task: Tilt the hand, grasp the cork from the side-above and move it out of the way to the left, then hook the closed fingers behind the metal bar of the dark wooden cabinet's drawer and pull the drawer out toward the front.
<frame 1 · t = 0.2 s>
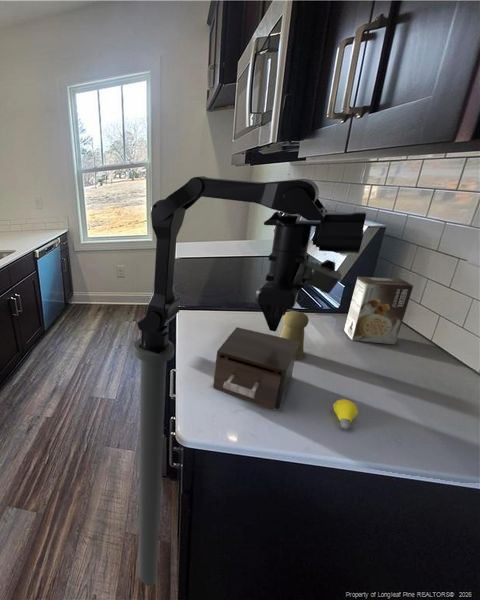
hand: (277, 322, 66), 14 cm above the countertop, tool pointing down, fingers open, 9 cm apart
cabinet: (252, 381, 70), on the countertop
drawer: (249, 374, 66), point 5 cm above the countertop, slide at 0.5 cm
coffee box: (367, 338, 85), on the countertop
cork: (288, 353, 81), on the countertop
light bulb: (343, 421, 58), on the countertop
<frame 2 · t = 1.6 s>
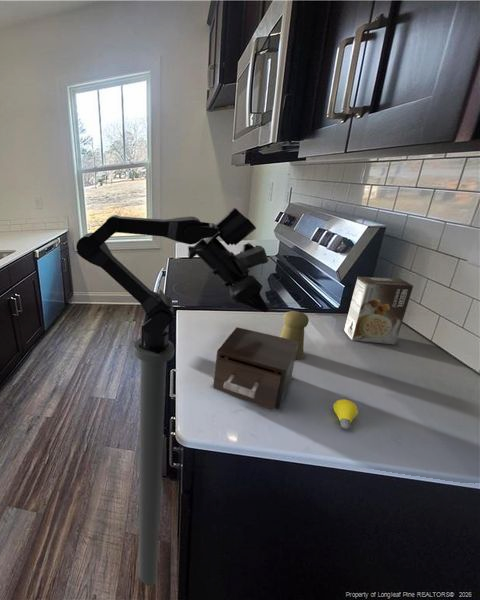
hand: (261, 303, 77), 13 cm above the countertop, tool tilted 45°, fingers open, 9 cm apart
nothing on the countertop moved.
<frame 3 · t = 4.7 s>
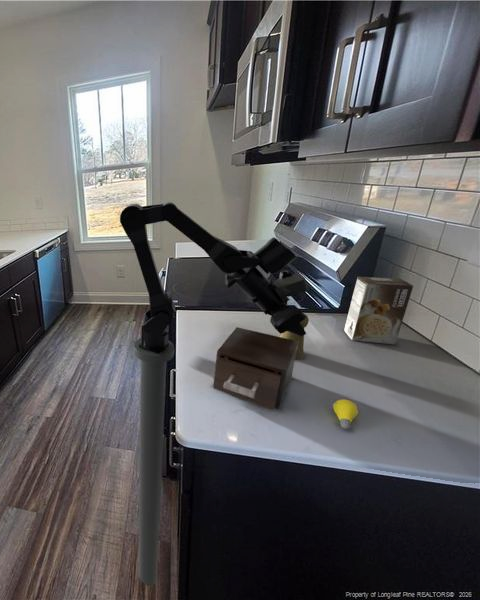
hand: (299, 329, 78), 7 cm above the countertop, tool tilted 45°, fingers closed on cork, 5 cm apart
cork: (288, 353, 81), on the countertop, touching gripper
everything else where it was.
when the fingers open (7 cm above the countertop, at t = 10.4 s): cork stays where it is, on the countertop.
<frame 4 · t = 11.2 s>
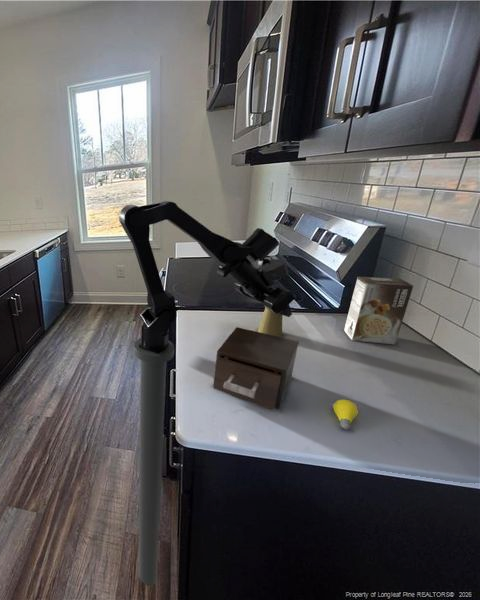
hand: (278, 308, 88), 7 cm above the countertop, tool tilted 45°, fingers open, 9 cm apart
cork: (269, 333, 91), on the countertop
everything else where it was.
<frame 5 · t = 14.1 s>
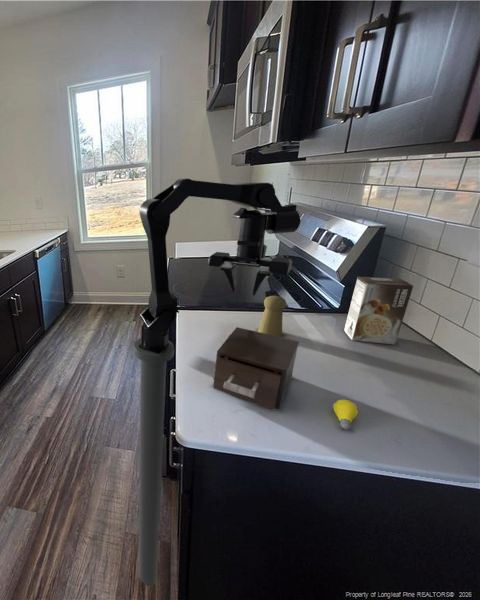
hand: (243, 293, 85), 13 cm above the countertop, tool pointing down, fingers open, 5 cm apart
nothing on the countertop moved.
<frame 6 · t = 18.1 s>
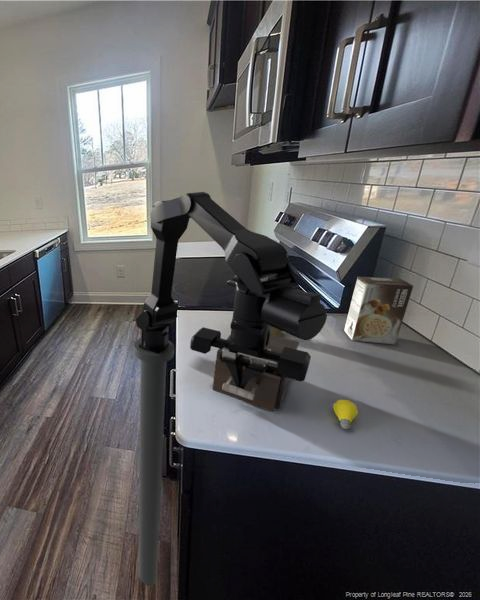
hand: (240, 389, 61), 5 cm above the countertop, tool pointing down, fingers closed
drawer: (249, 375, 65), point 5 cm above the countertop, slide at 1.2 cm
everything else where it was.
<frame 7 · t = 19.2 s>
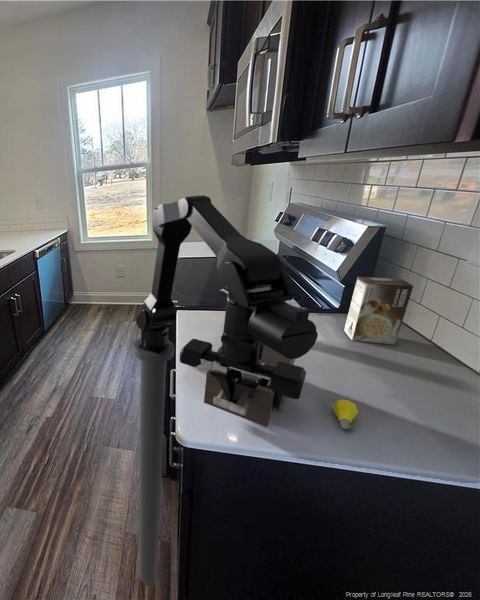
hand: (232, 405, 57), 5 cm above the countertop, tool pointing down, fingers closed, pressing on drawer
drawer: (242, 387, 62), point 5 cm above the countertop, slide at 6.2 cm, touching gripper
everything else where it was.
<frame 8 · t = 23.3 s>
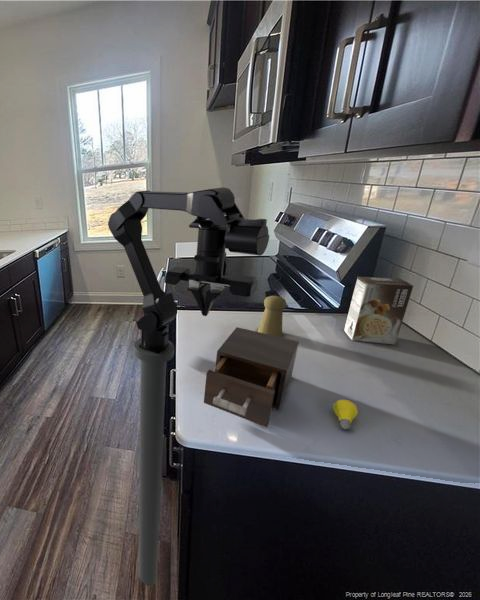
hand: (205, 315, 74), 13 cm above the countertop, tool pointing down, fingers closed
drawer: (241, 388, 62), point 5 cm above the countertop, slide at 6.2 cm
everything else where it was.
at the end: drawer slide at 6.2 cm; cork 0.1 cm from the target spot, on the countertop; cork tilted 0° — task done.
